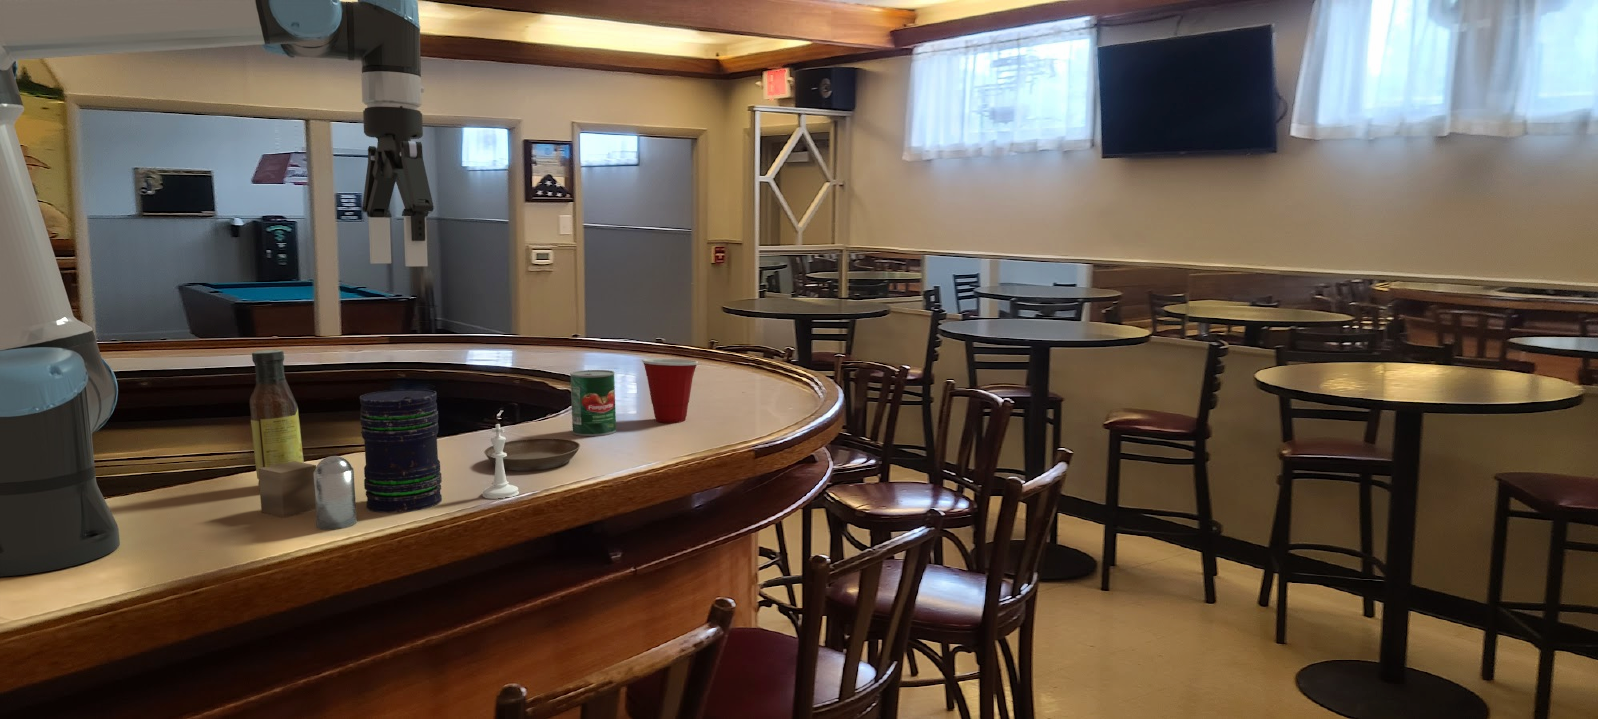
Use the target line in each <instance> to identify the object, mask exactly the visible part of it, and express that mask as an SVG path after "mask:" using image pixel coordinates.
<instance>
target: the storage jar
mask: <svg viewBox="0 0 1598 719" xmlns="http://www.w3.org/2000/svg"><path fill="white" fill-rule="evenodd" d="M437 398H438V397H437V391H435V390H430V389H420V388H419V389H418V388H416V389H415V388H410V389H408V388H407V389H406V388H405V389H389V390H381V391H374V392H368V393H365V394H362V395H360V396H359V403H360V405H361V407H360V408H359V409H360V416H359V417H360V418H359V419H360V420H359V421H360V426H361V432H360V433H361V437H362V439H363V442H364V456H365V458H364V459H365V465H364V467H363V471H364V472H363V474H364V479H363V486H364V490H365V497H366V498H367V499H366V500H367V501H366V502H365V503H366V504H365V505H366V506H365V507H366V509H368V510H369V511H371V512H375V513H383V514H385V513H386V514H392V513H393V514H395V513H409V512H415V511H420V510H421V511H422V510H426V509H430V508H431V507H435V506H437V505H438V504H441V502H442V500H443V496H442V494H441V490H442V485H441V484H442V482H443V480H442V479H443V478H442V472H441V462H440V459H439V454H438V437H437V435H438V433H439V428H440V426H439V422H438V420H439V410H438V402H436V401H437Z"/></svg>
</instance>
